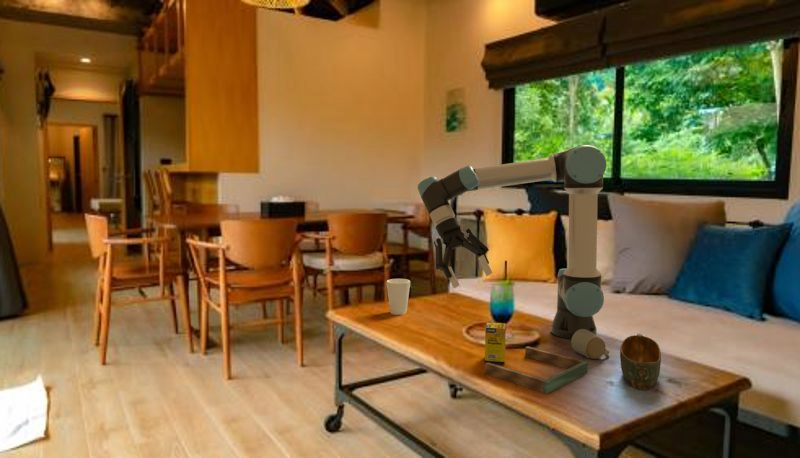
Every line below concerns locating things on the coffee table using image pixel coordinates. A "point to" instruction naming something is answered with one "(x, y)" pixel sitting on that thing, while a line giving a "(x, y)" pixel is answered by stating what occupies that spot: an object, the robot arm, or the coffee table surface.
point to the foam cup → (398, 295)
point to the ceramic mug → (588, 344)
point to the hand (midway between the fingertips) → (473, 280)
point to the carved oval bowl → (640, 361)
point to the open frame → (546, 386)
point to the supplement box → (495, 343)
